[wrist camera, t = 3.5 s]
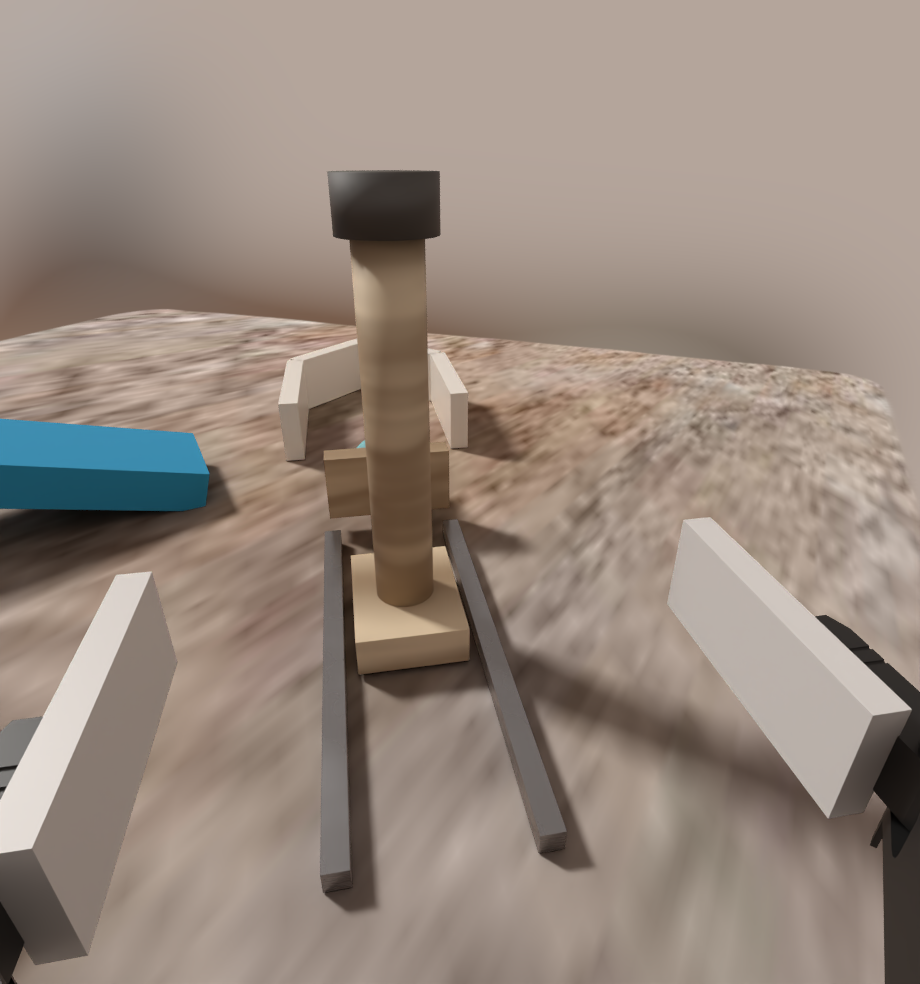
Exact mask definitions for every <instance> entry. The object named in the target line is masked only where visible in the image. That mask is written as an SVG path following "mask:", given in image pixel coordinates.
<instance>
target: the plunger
mask: <svg viewBox="0 0 920 984" xmlns="http://www.w3.org/2000/svg"><path fill="white" fill-rule="evenodd" d="M439 178H440V173H439V171H399V170H394V171H393V170H391V171H389V170H383V171H379V170H378V171H329V172H328V183H329V195H330V206H331V217H332V229H333V236H334V237H336V238H340V239H346V240H350V252H351V265H352V278H353V289H354V303H355V317H356V330H357V343H358V356H359V369H360V382H361V394H362V407H363V420H364V433H365V446H366V448H353V449H339V450H325V451H324V468H325V477H326V486H327V495H328V503H329V512H330V518H341V517H352V516H363V515H371V524H372V536H373V549H374V553H371V554H360V555H351V569H352V588H353V607H354V627H355V644H356V654H357V664H358V674H367V673H375V672H383V671H390V670H398V669H406V668H413V667H421V666H429V665H437V664H444V663H452V662H460V661H467V660H469V649H470V629H469V625H468V622H467V618H466V615H465V612H464V608H463V605H462V601H461V598H460V595H459V591H458V588H457V585H456V581H455V578H454V574H453V571H452V568H451V564H450V561H449V557H448V554H447V551H446V547H445V546H441V547H432V509H441V508H449V450H448V447H447V445H446V443H445V442H435V443H430V427H429V386H428V345H427V308H426V307H427V306H426V265H425V239H427V238H434V237H437V236H440V179H439Z"/></svg>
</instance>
